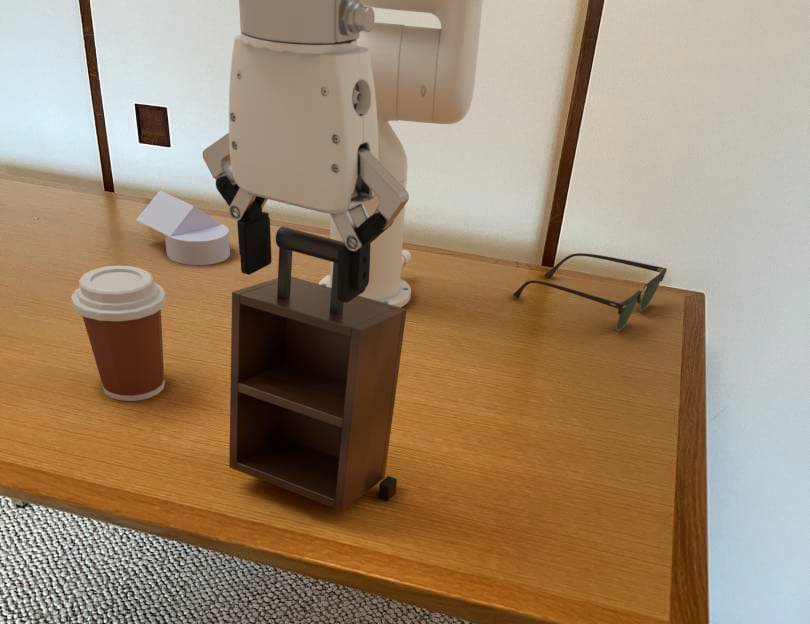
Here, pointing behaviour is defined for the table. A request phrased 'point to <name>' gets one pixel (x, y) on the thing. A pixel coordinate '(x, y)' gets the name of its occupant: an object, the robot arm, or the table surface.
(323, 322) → the shelf
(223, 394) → the table surface
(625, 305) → the sunglasses
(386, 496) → the dark brown rod
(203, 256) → the wedge on round base
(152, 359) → the coffee cup
